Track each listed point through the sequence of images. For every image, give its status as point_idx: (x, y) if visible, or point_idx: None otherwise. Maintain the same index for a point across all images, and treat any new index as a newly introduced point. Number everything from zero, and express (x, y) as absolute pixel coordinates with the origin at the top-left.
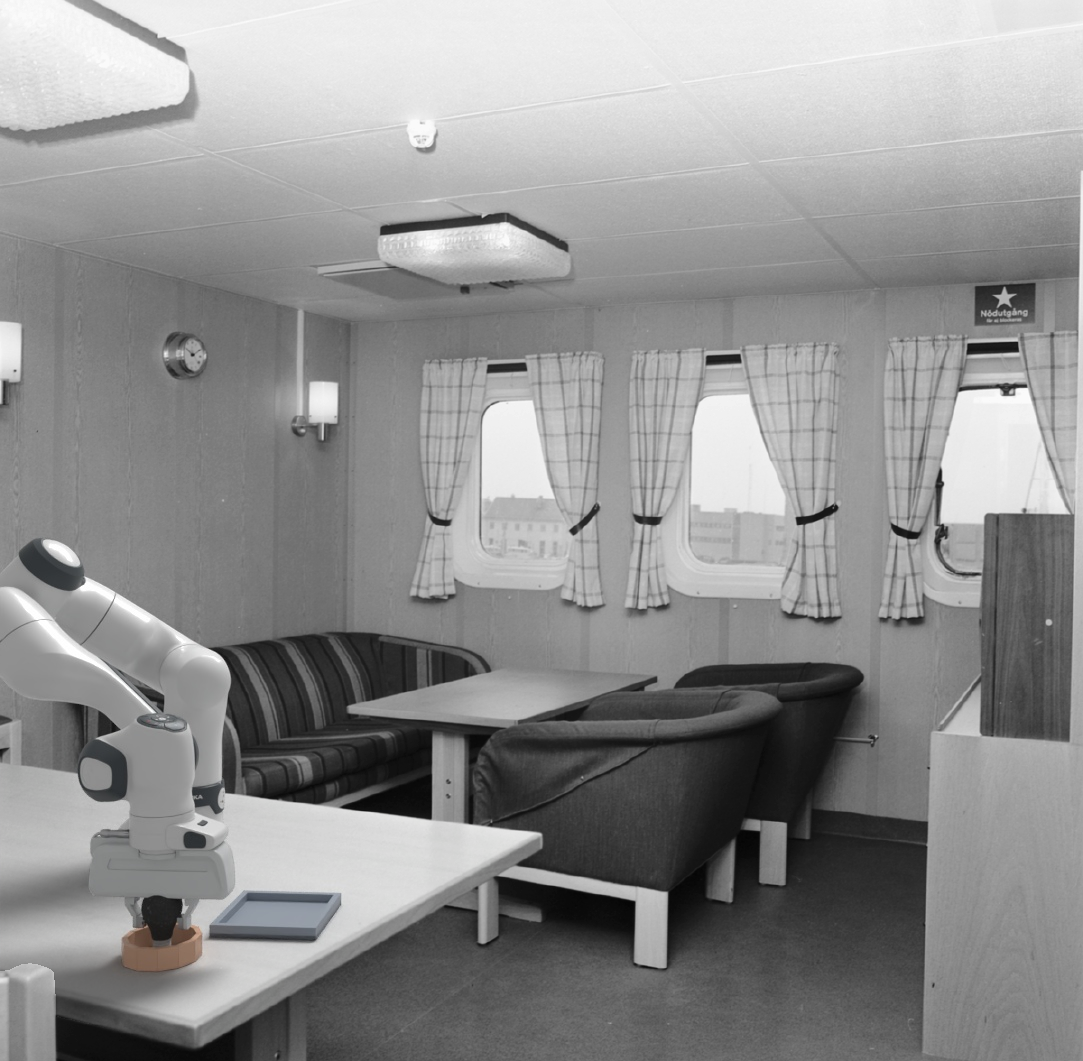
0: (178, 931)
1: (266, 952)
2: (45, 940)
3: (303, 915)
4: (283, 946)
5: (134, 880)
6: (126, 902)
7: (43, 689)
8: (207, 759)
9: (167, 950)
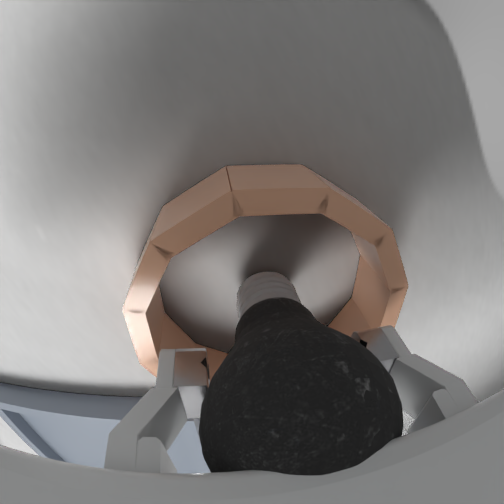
0: None
1: (15, 333)
2: (501, 308)
3: (76, 450)
4: (12, 360)
5: (491, 487)
6: (461, 388)
7: None
8: None
9: (190, 210)
